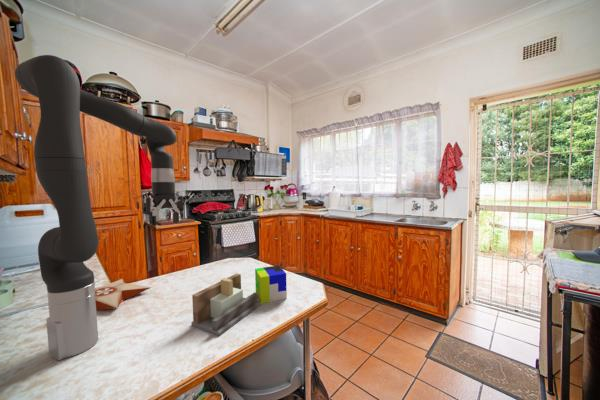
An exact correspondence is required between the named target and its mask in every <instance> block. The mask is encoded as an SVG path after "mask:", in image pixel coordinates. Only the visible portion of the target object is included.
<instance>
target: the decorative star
mask: <svg viewBox="0 0 600 400" xmlns="http://www.w3.org/2000/svg"><path fill="white" fill-rule="evenodd" d="M151 288H152V287H151V286H144V285H139V284H133V283H132V284H131V283H127V282H125V281H124V279H123V278H120V279H118V280H115V281H112V282H110V283H107V284H105V285H102V286H100V287H95V298H96V311H101V310H109V309H110V310H111V309H118V308H119V306H120V305H121V304H122V302H123V301H122V300H124V301H126V300H128V299H130V298H132V297H134V296H137V295H138V294H141V293H143V292H144V291H147V290H149V289H151ZM125 299H126V300H125Z"/></svg>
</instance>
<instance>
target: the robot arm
mask: <svg viewBox="0 0 600 400" xmlns="http://www.w3.org/2000/svg"><path fill="white" fill-rule="evenodd" d="M14 77H15V79H16V82H17V83H18V84H19V86H21V88H22V89H23V90H24V91H25V92H27V93H28V94H30V95H32V96H33V97H36V98H38V102H39V103H38V104H39V109H40V117H39V123H38V127H37V132H36V135H35V140H34V146H33V157H34V164H35V165H34V166H35V171H36V176H37V180H38V182H39V183H40V186H41V188H42V189H43V190H44V192H45V193H46V195H47V196H48V197H49V199H50V201H51V202H52V204H53V205H54V207H55V211H56V213H57V217H58V225H59V226H56V227H53V228H50V229H49V230H47V231H45V232H44V234H43V235H41V237H40V239H39V242H38V247H37V254H38V255H37V256H38V263H39V270H40V275H41V279H42V281H43V283H44V284H45V286H46V291H47V293H46V294H47V302H48V303H47V304H48V315H49V317H48V318H46V331H47V333H46V334H47V345H48V347H47V348H48V354H49V355H50V356H52V357H53V358H55V359H56V360H57V361H61V360H64V359H65V358H69V357H73V356H77V355H79V354H81V353H83V352H86V351H88V350H89V349H91V348H92V347H93V346H95V345H96V344H97V342H98V341H99V330H98V329H99V327H98V319H97V318H98V317H97V315H98V314H97V312H98V311H97V310H96V298H95V288H96V286H95V284H96V283H95V273H94V271H93V270H92V269H90V268H89V267H87V266H86V264H85V263H84V262H86V261H89V260H90V259H91V258H93V257H94V255H95V254H96V252H97V251H98V247H99V243H100V242H99V234H98V231H97V226H96V222H95V219H94V215H93V210H92V205H91V198H90V191H89V185H88V171H87V163H86V157H85V155H86V154H85V149H84V141H83V134H82V133H83V132H82V126H81V113H83V114H86V115H88V116H91V117H93V118H96V119H99V120H101V121H104V122H106V123H108V124H111V125H113V126H114V127H117V128H119V129H121V130H123V131H126V132H129V134H132V135H135V136H137V137H145V142H146V143H145V144H146V146H147V149H148V152H149V155H150V158H151V161H150V163H151V171H150V179H151V180H150V181H151V194H152V197H143V199H142V214H143V215H146V216H148V220H149V221H148V222H149V225H150V226H151V227H157V213H158V212H159V211H160V210H161V209H170V210H171V211H172V223H173V224H177V223H179V221H180V213H181V212H183V211H185V209H184V197H183V196H181V195H176V194H175V193H176V183H175V182H176V178H175V173H174V158H173V155H172V154H171V153H169V152H167V151H166V148H165V147H168V146H172V145H174V144H175V143H176V142H177V140H178V137H177V133H176V131H175V130H174V129H173V128H172V127H170V126H169V125H167V124H165V123H163V122H161V121H157V120H155V119H151V118H148V117H146V116H145V115H143V114H141V113H139V112H137V111H135V110H133V109H131V108H130V107H128V106H126V105H123V104H121V103H118V102H115V101H112V100H109V99H106V98H103V97H102V96H101V97H100V96H97V95H95V94H93V93H90V92H88V91H86V90H83V89H81V85H80V84H81V83H80V79H79V76H78V74H77V73H76V70H75V69H74V68H73V67H72V66H71V65H70V64H69V63H68V62H67V61H66V60H64V59H63V58H61V57H58V56H56V55H52V54H42V55H41V54H40V55H38V56H33V57H32V58H29V59H27V60H24V61H22V62H21V63H20V64H18V65H17V66H16V68H15V69H14ZM175 195H176V196H175ZM175 202H176V203H175ZM152 203H153V204H152ZM151 204H152V205H151Z"/></svg>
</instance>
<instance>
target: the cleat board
mask: <svg viewBox="0 0 600 400" xmlns="http://www.w3.org/2000/svg"><path fill="white" fill-rule="evenodd" d="M226 279H230V280H233V288H237V289H241V290H242V273H234V274H233V275H231V276H229V277H227V278H226ZM220 293H221V280H220V281H218V282H216V283H214V284H212V285H210V286H208V287H205V288H204V289H202V290H200V291H198V292H196V293H194V294H191V296H192V297H191V298H192V319H193V321H191V326H193V327H195V328H197V329H201V330H202V331H203V330H204V331H207V332H209V333H211V334H214V335H216V336H220V337H221V335H224V333H225V332H227V331H228V330H230V329H231V328H232V327H233V326H235V325H236V324H237V323H239V322H240V321H242V319H244V318H245V317H247V316H248V315H250V314H251V313H252V312H253V311H254V310H256V309H257V308H259V307H260V306H261V304H262V303H261V302H260V301H259V298H258V294H257V293H256V292H253V293H251V294H250V295H249V296H247V297H243V300H242V301H241V302H239V303H238V304H236V305H235V306H233V307H231V308H230V309H228V310H227V311H225V312H224V313H222V314H221V315H219V316H218V317H216V318H213V317H211V308H210V299H211V298H213V297H215V296H217V295H218V294H220Z"/></svg>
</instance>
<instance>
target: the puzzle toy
mask: <svg viewBox="0 0 600 400" xmlns="http://www.w3.org/2000/svg"><path fill="white" fill-rule="evenodd" d="M254 272H255V275H254V276H255V277H254V278H255V293H257V294H258V301H259V302H261V304H266V303H271V302H277V301H283V300H286V299H287V291H288V290H287V273H286V272H285V271H284V269H283V268H282V267H281V265H279V264H278V265H271V266H266V267H258V268H255V269H254Z"/></svg>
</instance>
